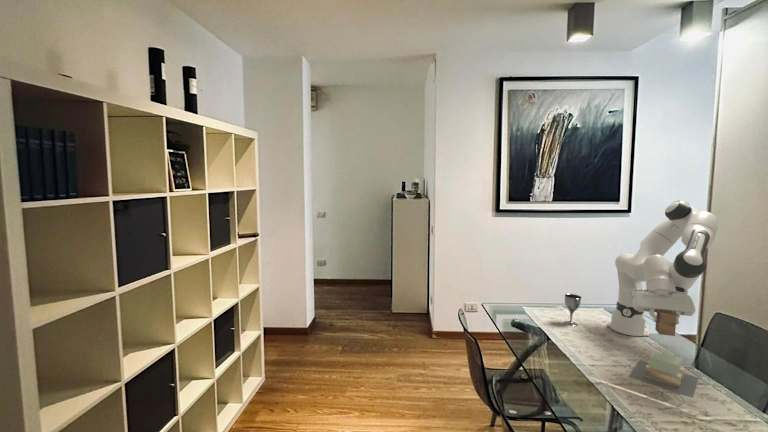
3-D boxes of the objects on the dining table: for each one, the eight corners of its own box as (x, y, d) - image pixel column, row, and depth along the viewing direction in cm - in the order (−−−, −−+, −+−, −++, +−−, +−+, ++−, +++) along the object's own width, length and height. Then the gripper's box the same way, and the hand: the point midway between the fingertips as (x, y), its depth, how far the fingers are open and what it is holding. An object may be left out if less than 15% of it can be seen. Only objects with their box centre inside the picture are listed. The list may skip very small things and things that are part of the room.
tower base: (649, 367, 163) (651, 358, 162) (683, 377, 155) (684, 367, 155) (644, 376, 155) (645, 367, 154) (679, 387, 147) (680, 377, 147)
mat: (639, 361, 169) (639, 360, 169) (698, 379, 156) (698, 377, 156) (628, 378, 155) (628, 376, 155) (692, 399, 141) (692, 397, 141)
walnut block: (655, 329, 157) (656, 309, 156) (670, 331, 155) (671, 311, 154) (659, 334, 152) (661, 313, 151) (674, 336, 150) (676, 315, 149)
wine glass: (580, 327, 207) (583, 299, 205) (564, 325, 208) (566, 297, 206) (576, 321, 214) (579, 294, 213) (560, 319, 216) (563, 293, 214)
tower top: (653, 359, 161) (654, 350, 161) (680, 367, 155) (681, 358, 154) (649, 367, 155) (650, 357, 154) (677, 375, 148) (678, 365, 148)
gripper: (632, 284, 162) (637, 315, 154) (692, 289, 155) (700, 322, 147) (628, 292, 166) (633, 322, 158) (687, 297, 160) (694, 329, 151)
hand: (666, 322), depth 152 cm, fingers closed on walnut block, 5 cm apart
